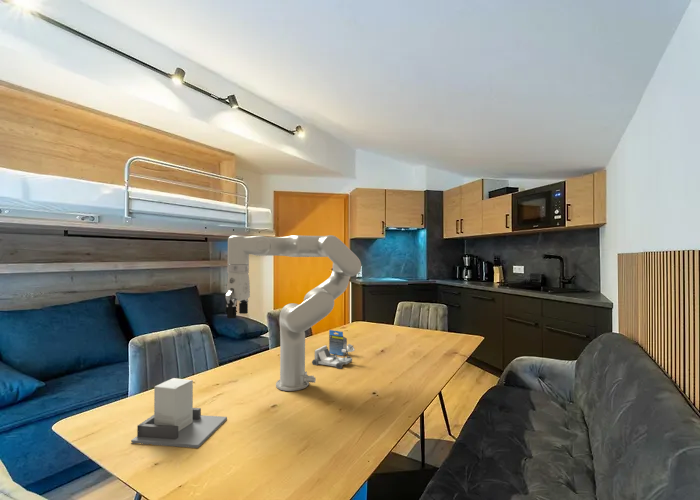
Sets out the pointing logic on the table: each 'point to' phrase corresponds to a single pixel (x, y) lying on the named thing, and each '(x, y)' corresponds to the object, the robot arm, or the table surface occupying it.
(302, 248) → the robot arm
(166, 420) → the supplement box
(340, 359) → the toy car
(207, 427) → the box holder
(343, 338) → the label tape cartridge
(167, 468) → the table surface
